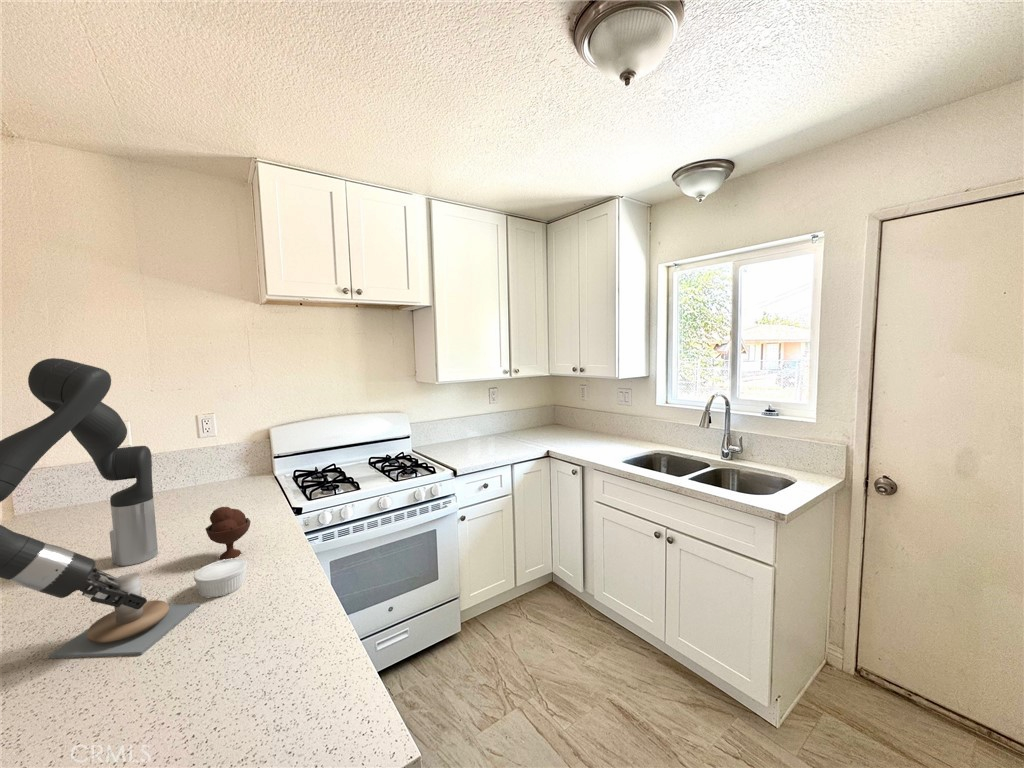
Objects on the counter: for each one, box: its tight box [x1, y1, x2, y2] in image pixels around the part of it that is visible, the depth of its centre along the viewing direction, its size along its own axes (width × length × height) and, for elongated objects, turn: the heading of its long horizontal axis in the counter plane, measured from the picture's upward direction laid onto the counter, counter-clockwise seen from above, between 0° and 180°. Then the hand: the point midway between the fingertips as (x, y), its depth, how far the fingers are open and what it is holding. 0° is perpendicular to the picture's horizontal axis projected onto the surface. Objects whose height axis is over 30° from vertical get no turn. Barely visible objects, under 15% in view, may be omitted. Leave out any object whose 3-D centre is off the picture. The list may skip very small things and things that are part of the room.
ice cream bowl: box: [204, 506, 251, 560], centre depth 122 cm, size 11×11×15 cm
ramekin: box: [193, 557, 249, 599], centre depth 105 cm, size 11×11×5 cm
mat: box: [47, 602, 201, 659], centre depth 90 cm, size 18×16×1 cm
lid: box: [87, 572, 169, 643], centre depth 89 cm, size 13×13×10 cm
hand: (140, 599), depth 91 cm, fingers closed on lid, 4 cm apart
